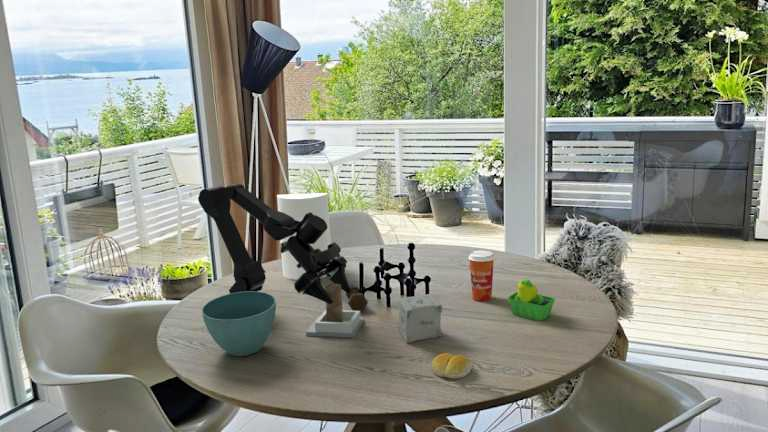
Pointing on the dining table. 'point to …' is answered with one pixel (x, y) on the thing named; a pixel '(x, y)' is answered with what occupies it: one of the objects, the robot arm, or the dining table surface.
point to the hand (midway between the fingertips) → (341, 297)
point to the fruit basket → (530, 302)
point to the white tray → (336, 325)
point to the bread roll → (451, 366)
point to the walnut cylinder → (334, 303)
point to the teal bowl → (240, 321)
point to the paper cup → (481, 275)
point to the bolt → (356, 299)
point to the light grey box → (419, 317)
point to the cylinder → (297, 210)
